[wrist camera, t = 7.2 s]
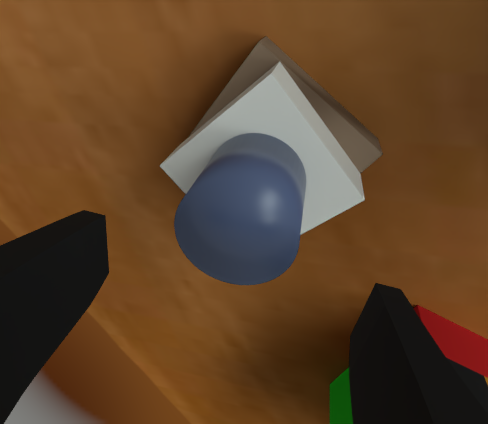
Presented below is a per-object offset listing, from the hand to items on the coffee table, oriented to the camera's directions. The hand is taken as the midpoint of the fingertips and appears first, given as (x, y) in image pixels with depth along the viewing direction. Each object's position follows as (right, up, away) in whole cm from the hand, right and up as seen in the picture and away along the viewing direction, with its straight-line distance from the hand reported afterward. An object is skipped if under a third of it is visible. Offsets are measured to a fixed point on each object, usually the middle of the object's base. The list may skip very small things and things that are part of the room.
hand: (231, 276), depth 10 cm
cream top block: (+1, +4, +7) cm, 9 cm away
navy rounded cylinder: (+1, +3, +5) cm, 6 cm away
